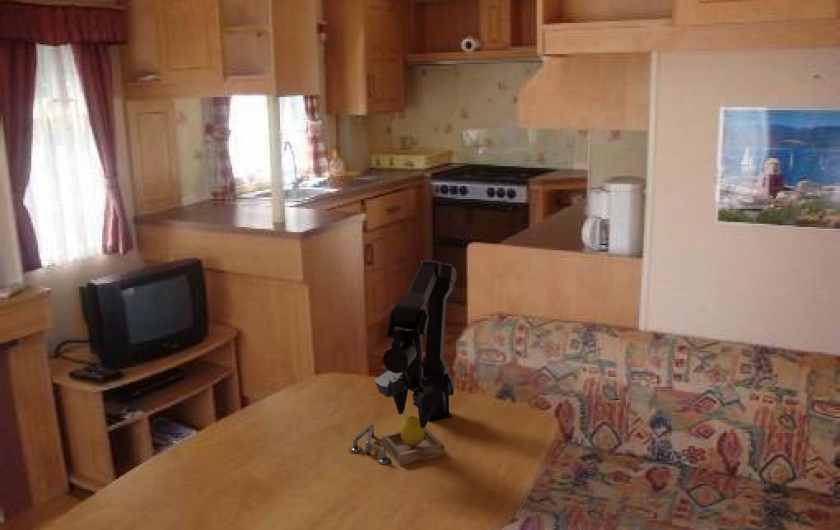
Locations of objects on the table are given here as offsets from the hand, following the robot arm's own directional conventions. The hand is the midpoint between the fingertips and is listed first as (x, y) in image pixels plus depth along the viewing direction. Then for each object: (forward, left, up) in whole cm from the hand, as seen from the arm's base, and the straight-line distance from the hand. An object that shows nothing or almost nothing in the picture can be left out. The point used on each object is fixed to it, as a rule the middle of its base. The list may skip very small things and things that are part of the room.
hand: (411, 420), depth 182 cm
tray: (0, 0, -8) cm, 8 cm away
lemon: (0, 0, -7) cm, 7 cm away
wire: (+9, -4, -8) cm, 13 cm away
